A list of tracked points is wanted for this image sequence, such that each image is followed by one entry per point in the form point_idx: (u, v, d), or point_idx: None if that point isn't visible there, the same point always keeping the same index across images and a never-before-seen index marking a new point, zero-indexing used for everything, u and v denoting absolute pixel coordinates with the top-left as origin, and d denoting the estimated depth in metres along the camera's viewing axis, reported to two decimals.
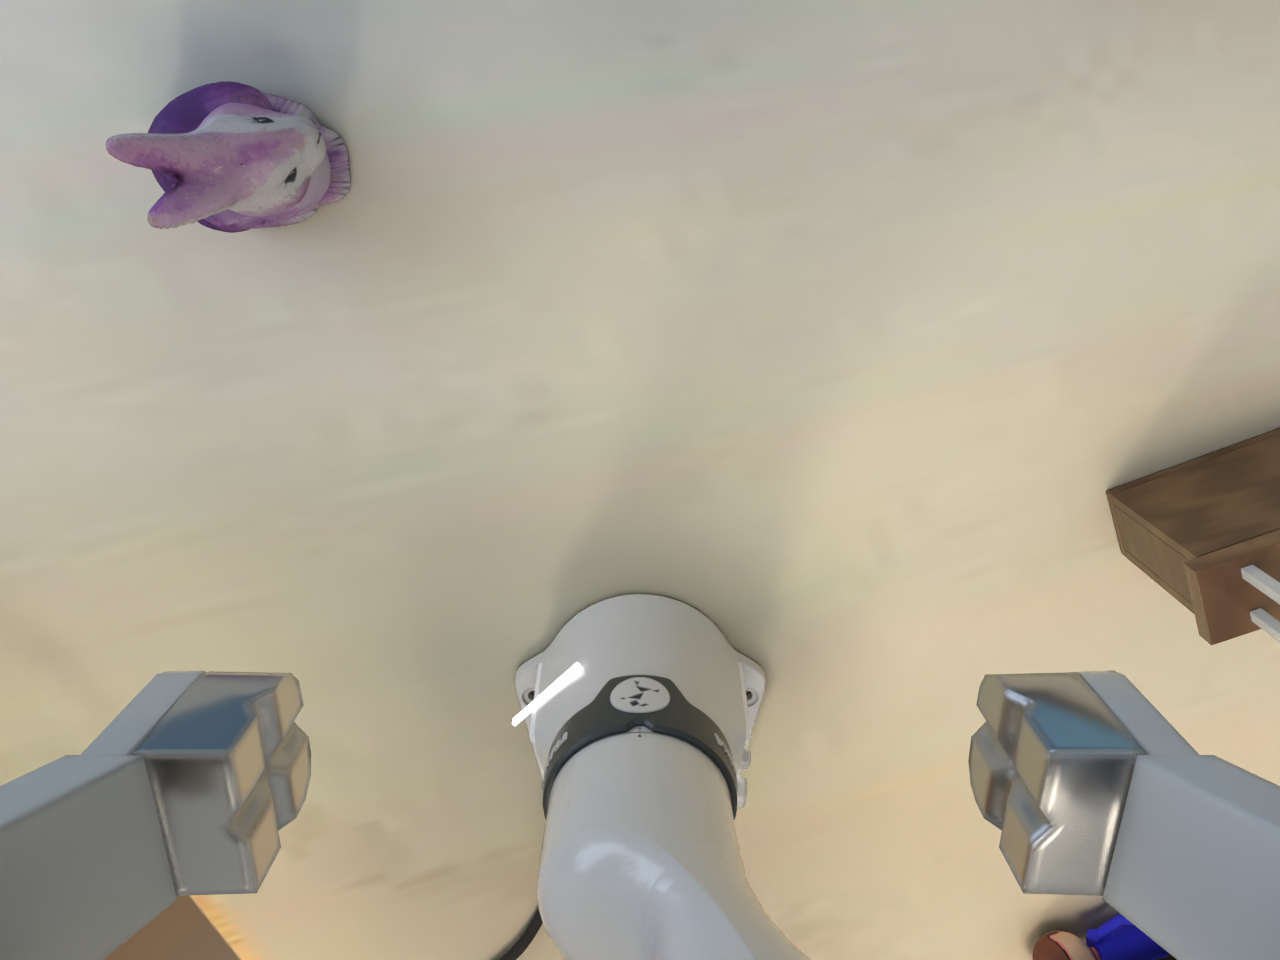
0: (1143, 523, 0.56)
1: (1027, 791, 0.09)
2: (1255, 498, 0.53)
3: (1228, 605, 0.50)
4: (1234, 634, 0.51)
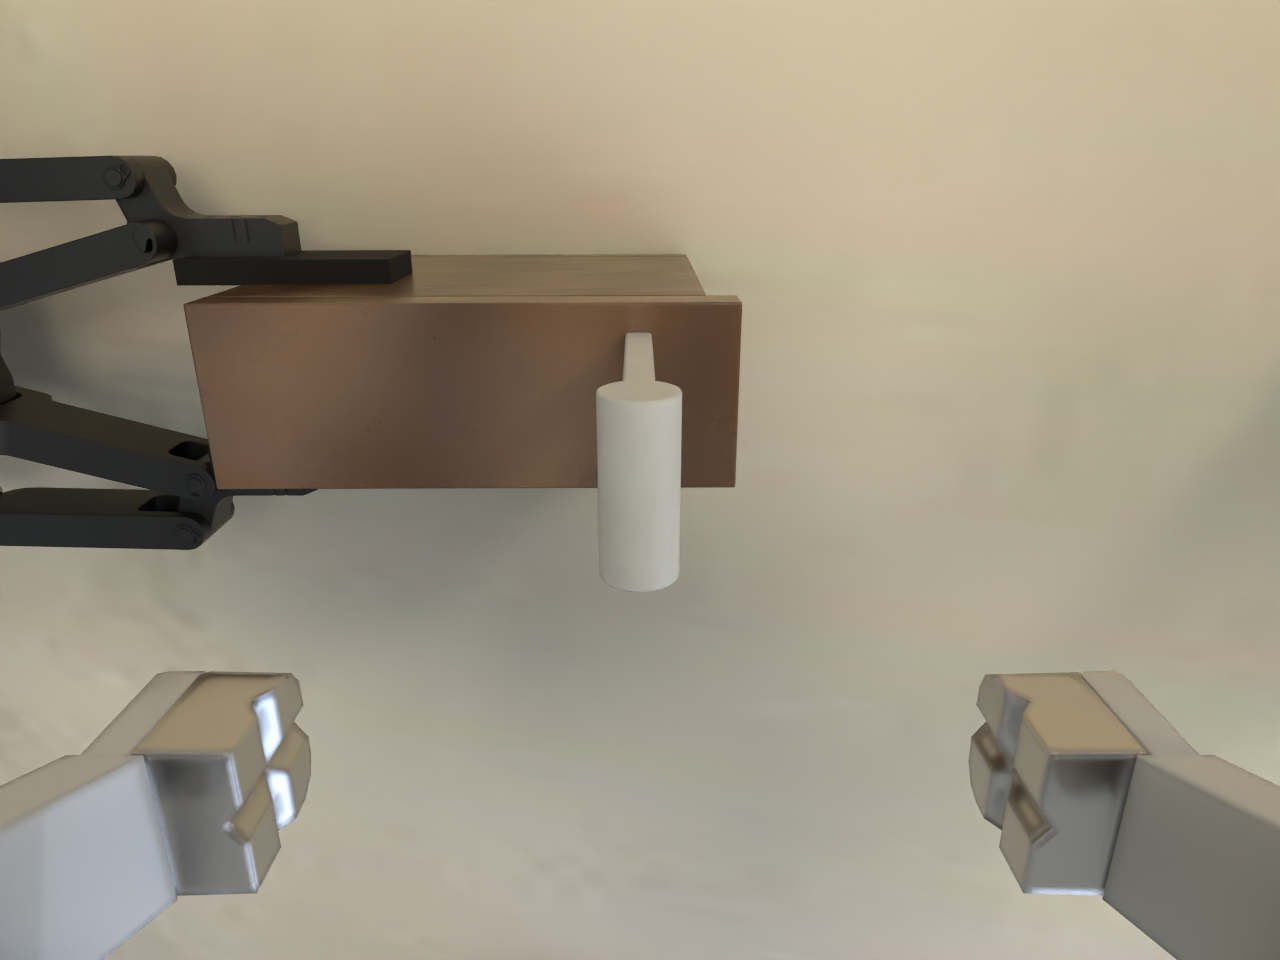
0: None
1: (1027, 791, 0.09)
2: None
3: (688, 388, 0.24)
4: (688, 312, 0.23)
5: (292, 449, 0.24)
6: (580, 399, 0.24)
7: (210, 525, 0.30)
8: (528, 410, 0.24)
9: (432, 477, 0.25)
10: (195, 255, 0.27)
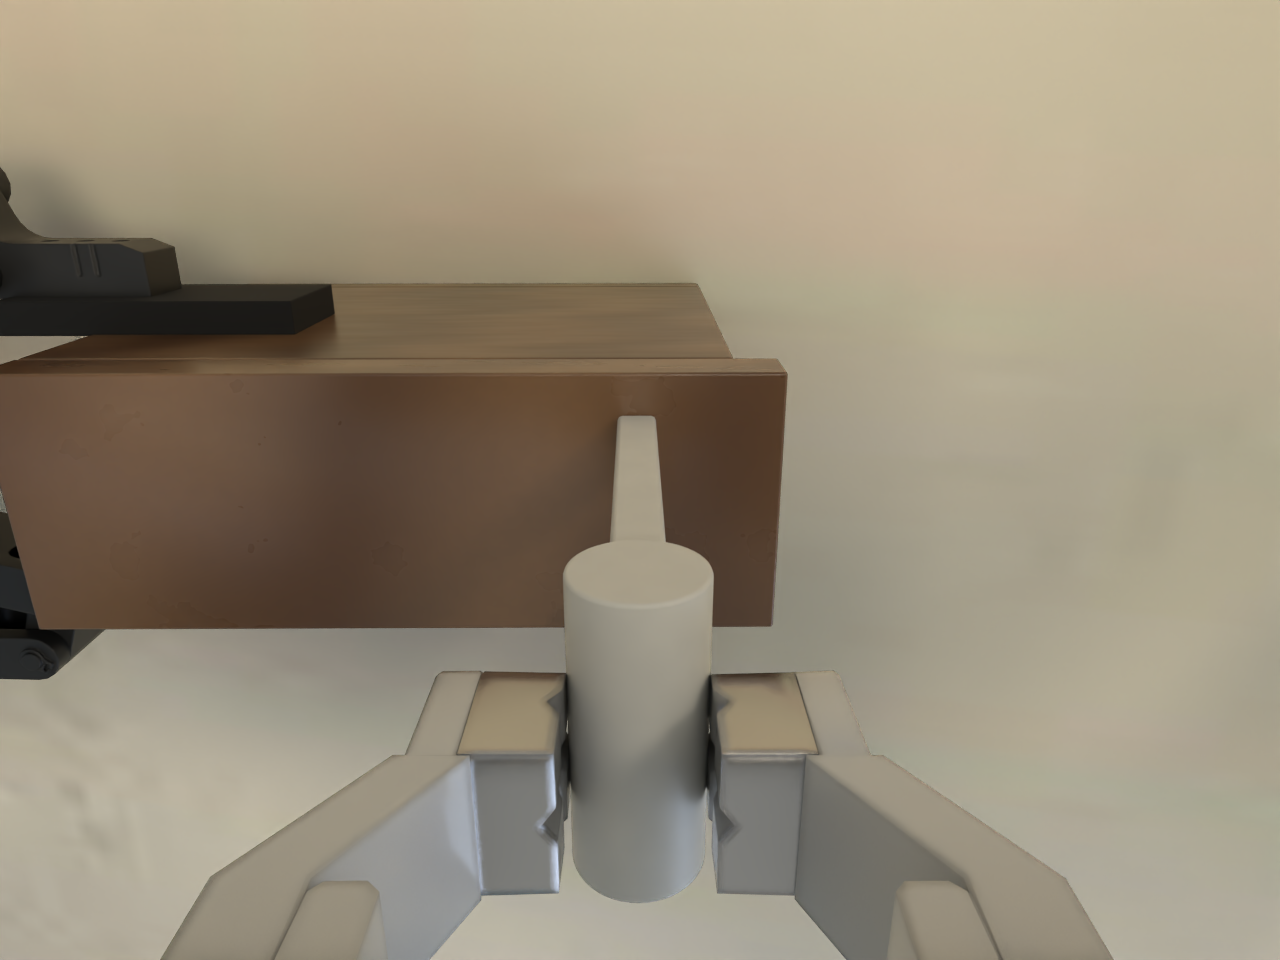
0: None
1: None
2: None
3: (708, 493, 0.17)
4: (709, 386, 0.16)
5: (141, 576, 0.17)
6: (553, 507, 0.17)
7: (69, 646, 0.23)
8: (478, 523, 0.17)
9: (344, 613, 0.17)
10: (28, 294, 0.20)
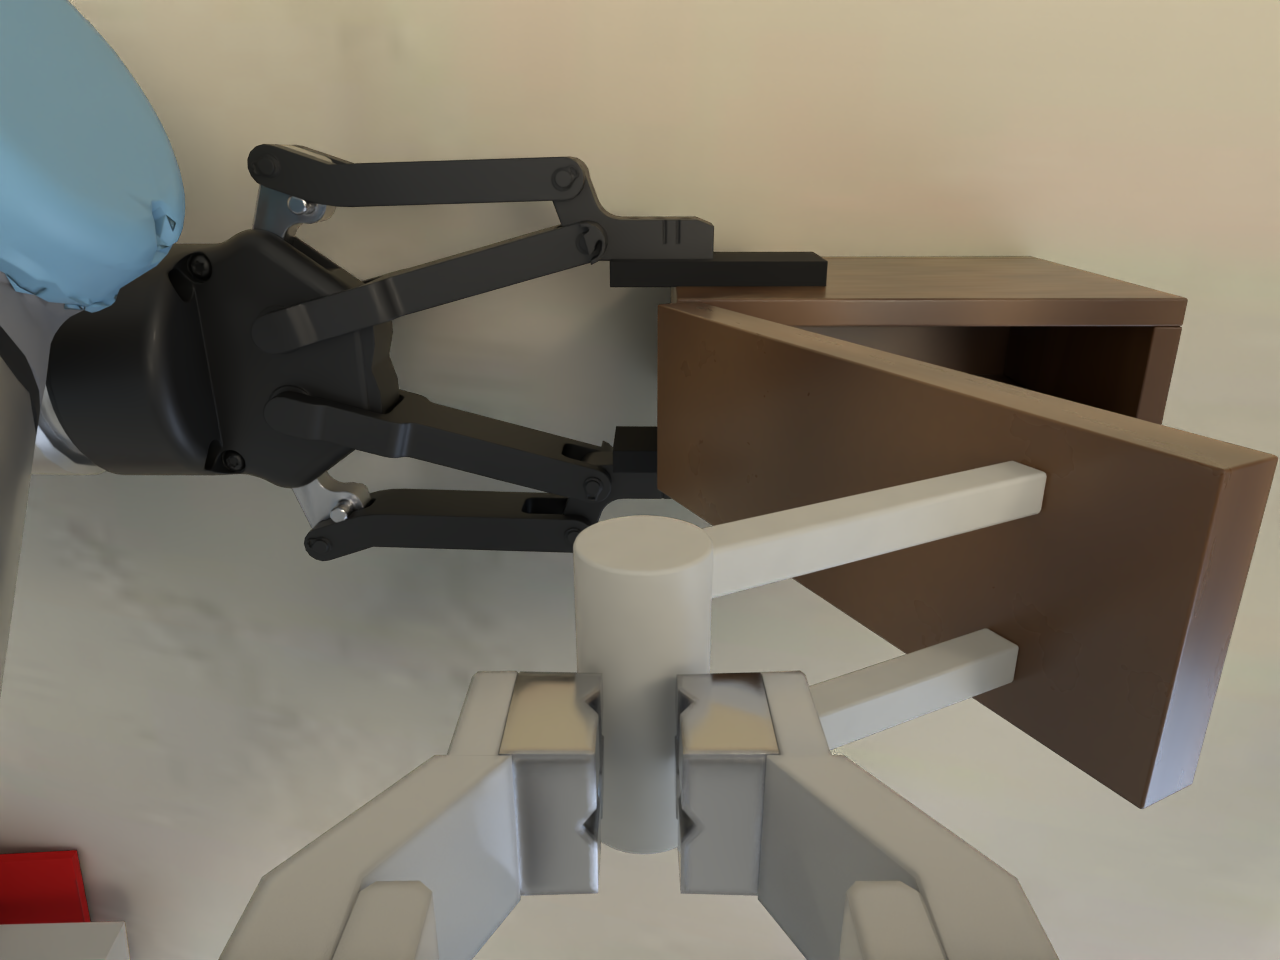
0: None
1: None
2: None
3: (1092, 593, 0.13)
4: (1116, 457, 0.12)
5: (699, 474, 0.23)
6: None
7: None
8: None
9: None
10: (622, 257, 0.27)
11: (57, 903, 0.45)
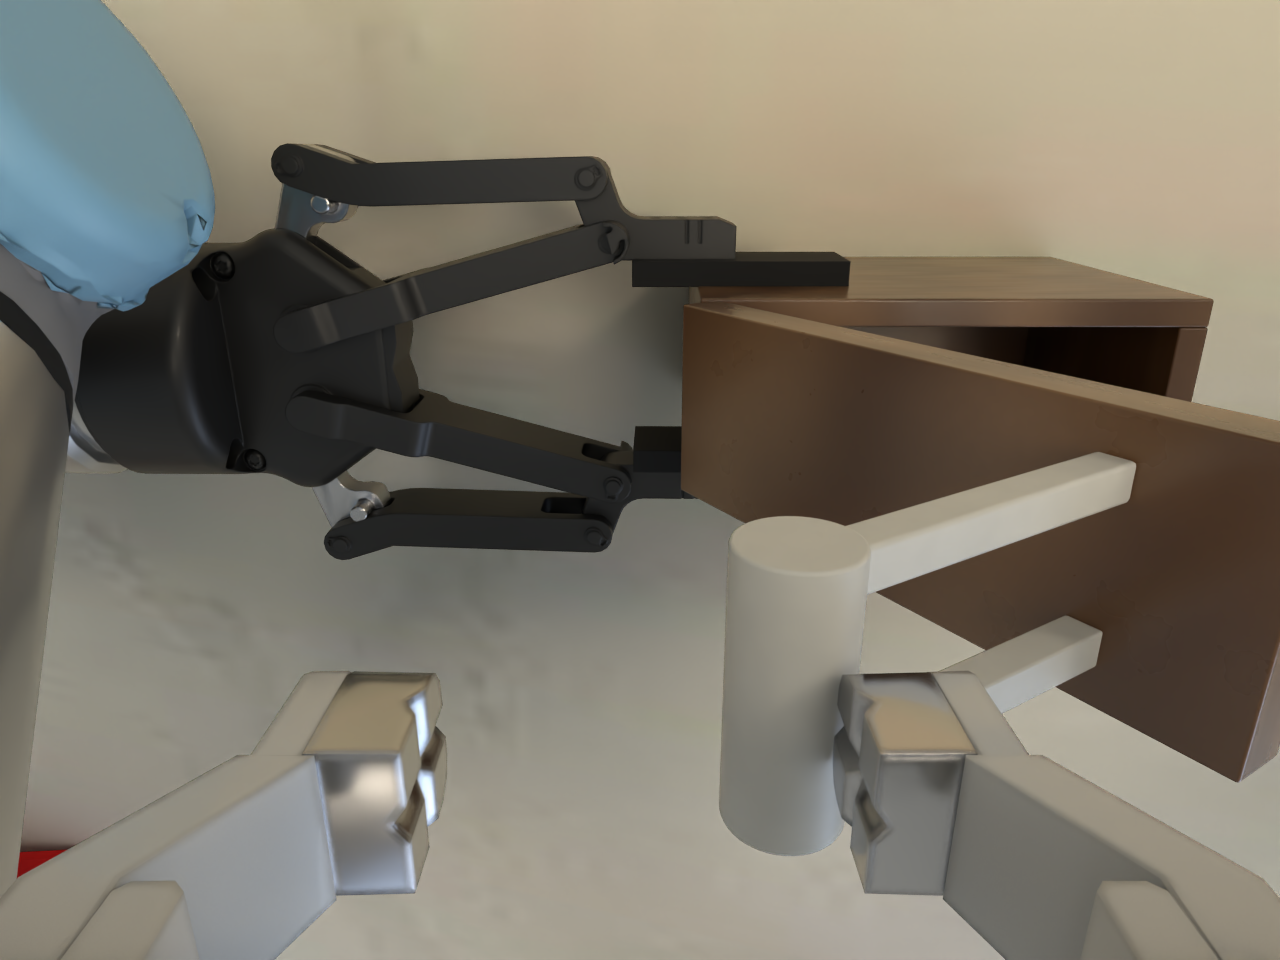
0: None
1: None
2: None
3: (1185, 577, 0.13)
4: (1214, 446, 0.13)
5: (731, 473, 0.23)
6: None
7: (613, 528, 0.30)
8: None
9: None
10: (644, 256, 0.27)
11: None
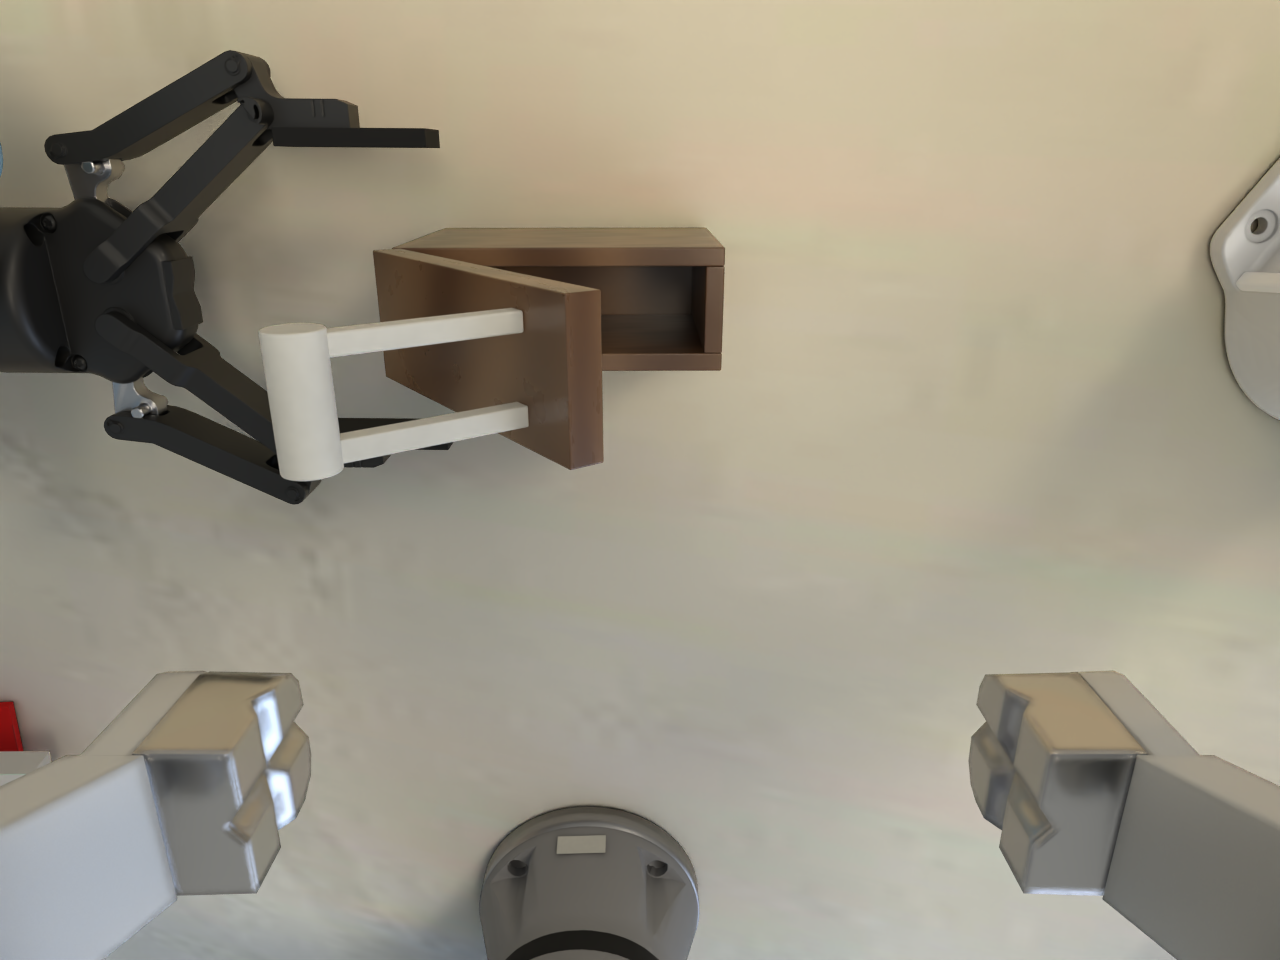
0: None
1: (1027, 791, 0.09)
2: None
3: (543, 367, 0.26)
4: (539, 296, 0.25)
5: (404, 358, 0.35)
6: (496, 358, 0.29)
7: (308, 492, 0.43)
8: (477, 360, 0.30)
9: (447, 399, 0.33)
10: (285, 126, 0.38)
11: None
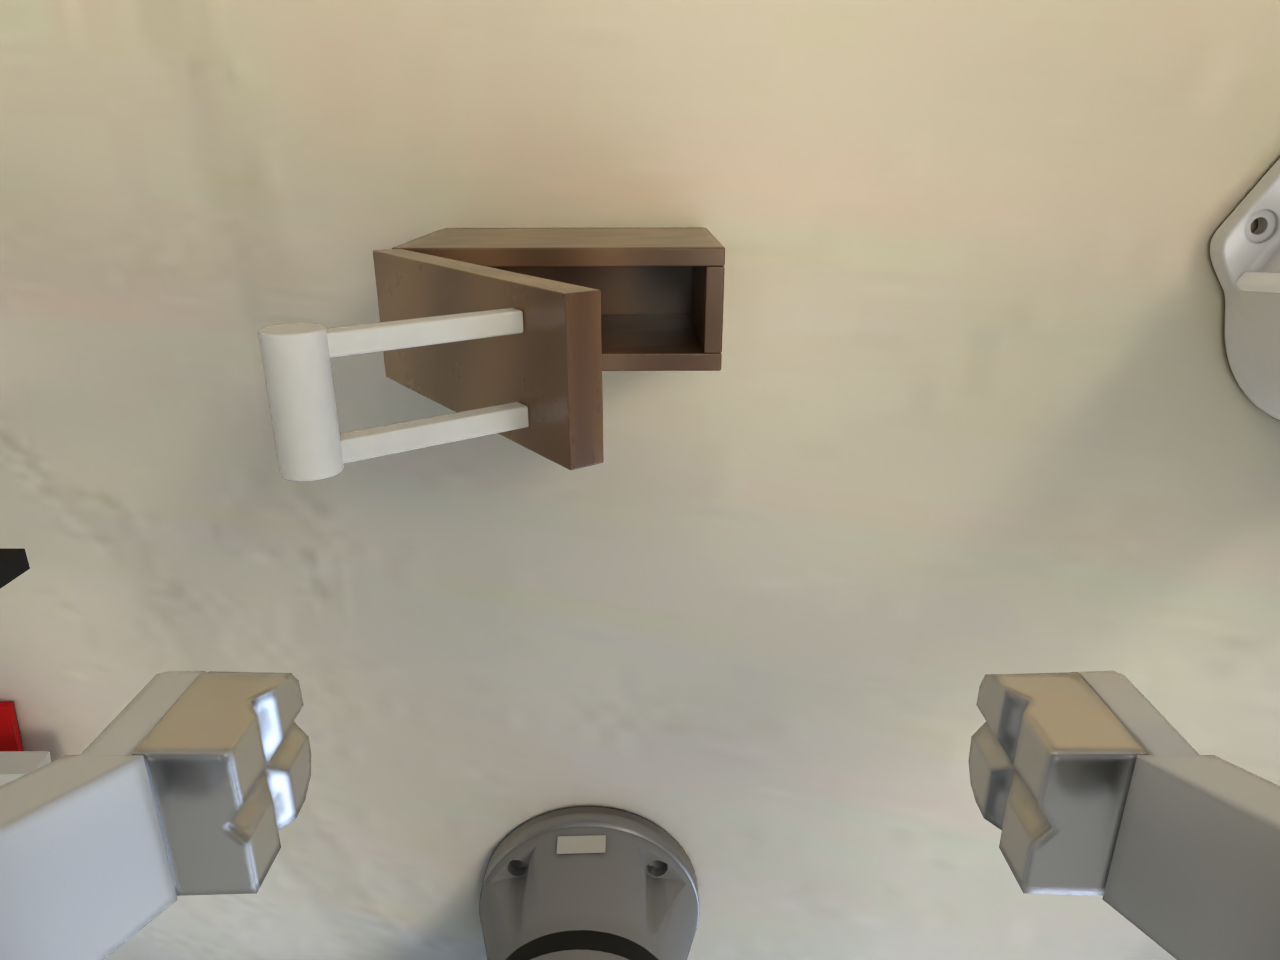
0: None
1: (1027, 791, 0.09)
2: None
3: (543, 367, 0.26)
4: (539, 296, 0.25)
5: (404, 358, 0.35)
6: (496, 359, 0.29)
7: None
8: (477, 360, 0.30)
9: (446, 399, 0.33)
10: None
11: None
